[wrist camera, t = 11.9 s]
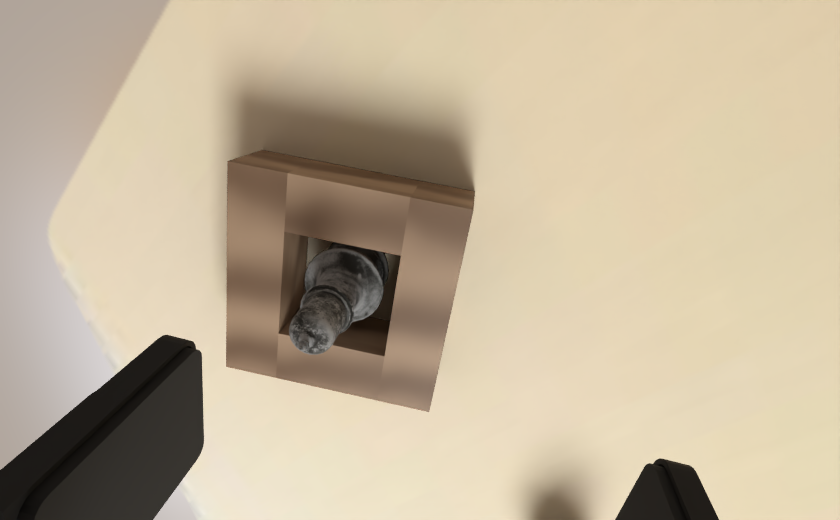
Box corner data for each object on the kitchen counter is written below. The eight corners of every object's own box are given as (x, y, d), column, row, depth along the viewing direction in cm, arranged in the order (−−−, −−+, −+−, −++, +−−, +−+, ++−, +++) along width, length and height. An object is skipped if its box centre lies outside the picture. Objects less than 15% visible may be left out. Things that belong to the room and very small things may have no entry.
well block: (262, 150, 34) (227, 161, 30) (474, 191, 33) (473, 209, 29) (255, 333, 40) (226, 366, 36) (435, 372, 39) (429, 411, 35)
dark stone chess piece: (331, 305, 38) (269, 397, 27) (311, 238, 36) (236, 309, 25) (399, 296, 37) (363, 388, 26) (382, 227, 35) (336, 295, 24)
